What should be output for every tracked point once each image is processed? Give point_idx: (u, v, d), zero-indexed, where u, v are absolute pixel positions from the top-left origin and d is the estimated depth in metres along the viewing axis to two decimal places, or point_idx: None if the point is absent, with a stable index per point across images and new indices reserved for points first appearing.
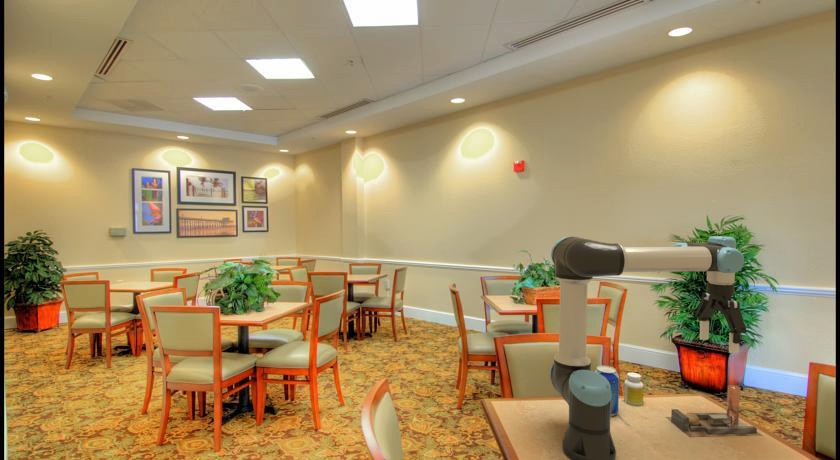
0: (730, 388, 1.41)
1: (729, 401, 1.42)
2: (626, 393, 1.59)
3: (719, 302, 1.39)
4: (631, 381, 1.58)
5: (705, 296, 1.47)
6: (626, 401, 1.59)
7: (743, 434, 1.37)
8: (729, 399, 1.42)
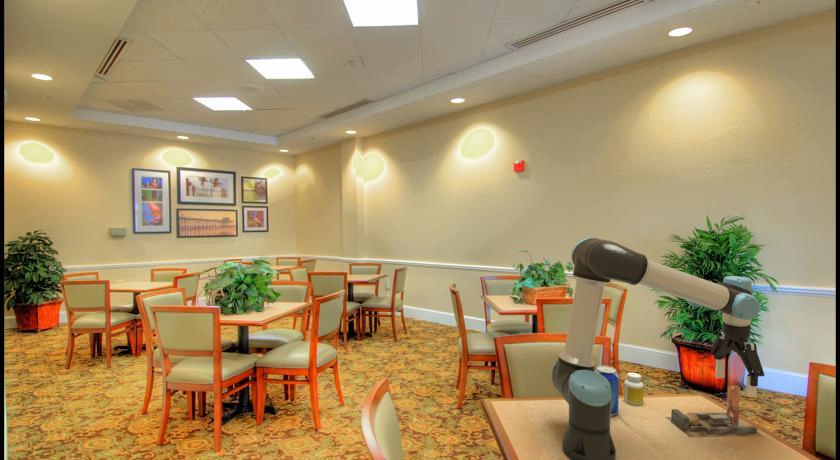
0: (730, 388, 1.41)
1: (729, 401, 1.42)
2: (626, 393, 1.59)
3: (735, 343, 1.39)
4: (631, 381, 1.58)
5: (720, 335, 1.46)
6: (626, 401, 1.59)
7: (743, 434, 1.37)
8: (729, 399, 1.42)
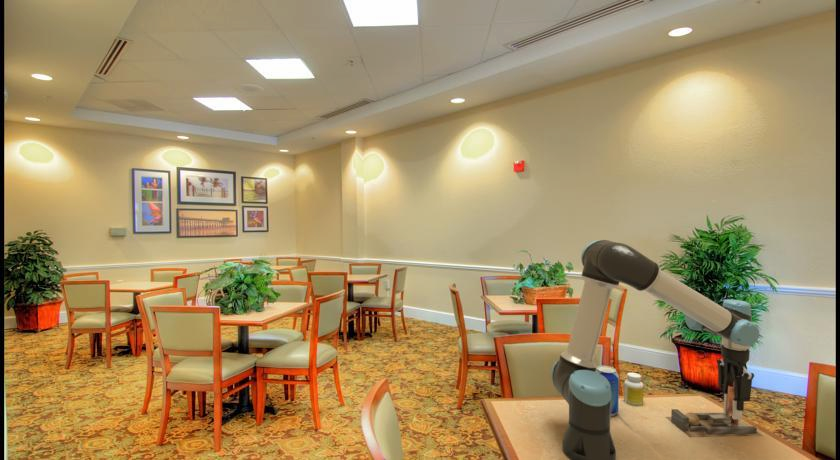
0: (730, 388, 1.41)
1: (729, 401, 1.42)
2: (626, 393, 1.59)
3: (734, 368, 1.39)
4: (631, 381, 1.58)
5: (720, 362, 1.47)
6: (626, 401, 1.59)
7: (743, 434, 1.37)
8: (729, 399, 1.42)
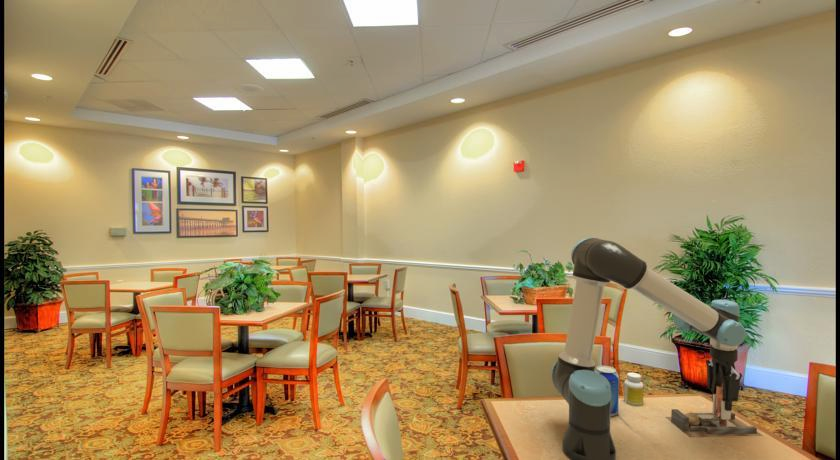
0: (718, 388, 1.41)
1: (717, 401, 1.42)
2: (626, 393, 1.59)
3: (722, 368, 1.39)
4: (631, 381, 1.58)
5: (709, 362, 1.46)
6: (626, 401, 1.59)
7: (743, 434, 1.37)
8: (717, 399, 1.41)
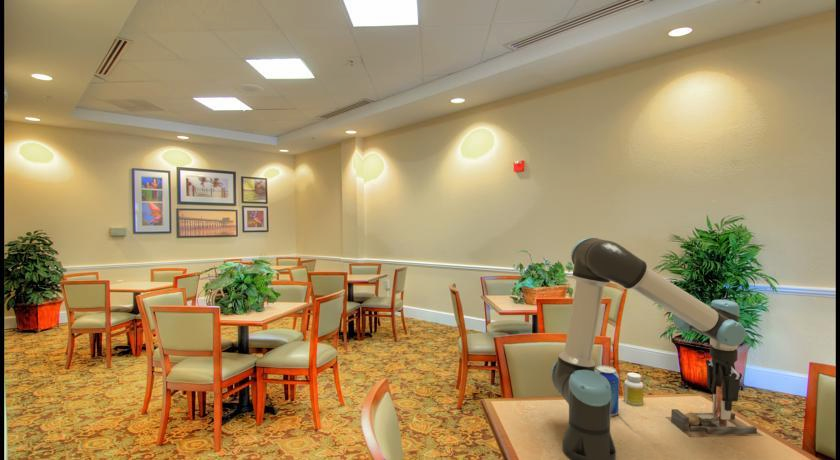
0: (718, 388, 1.41)
1: (717, 401, 1.42)
2: (626, 393, 1.59)
3: (722, 368, 1.39)
4: (631, 381, 1.58)
5: (709, 362, 1.46)
6: (626, 401, 1.59)
7: (743, 434, 1.37)
8: (717, 399, 1.41)
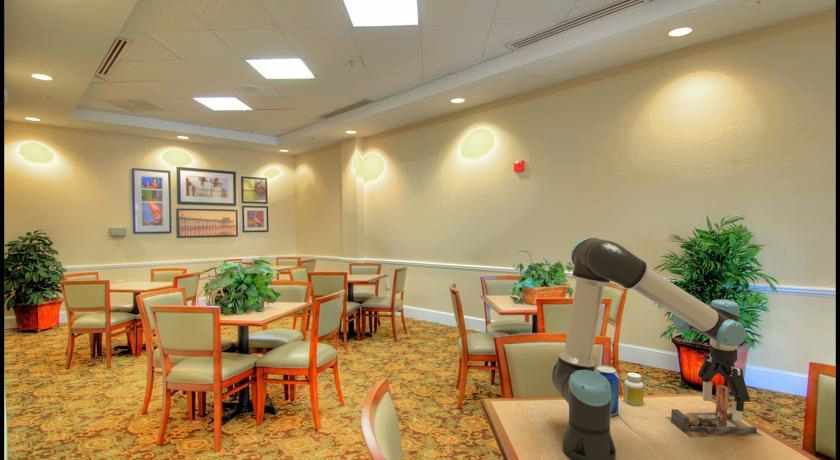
0: (718, 388, 1.41)
1: (717, 401, 1.42)
2: (626, 393, 1.59)
3: (722, 367, 1.39)
4: (631, 381, 1.58)
5: (708, 358, 1.47)
6: (626, 401, 1.59)
7: (743, 434, 1.37)
8: (717, 399, 1.41)
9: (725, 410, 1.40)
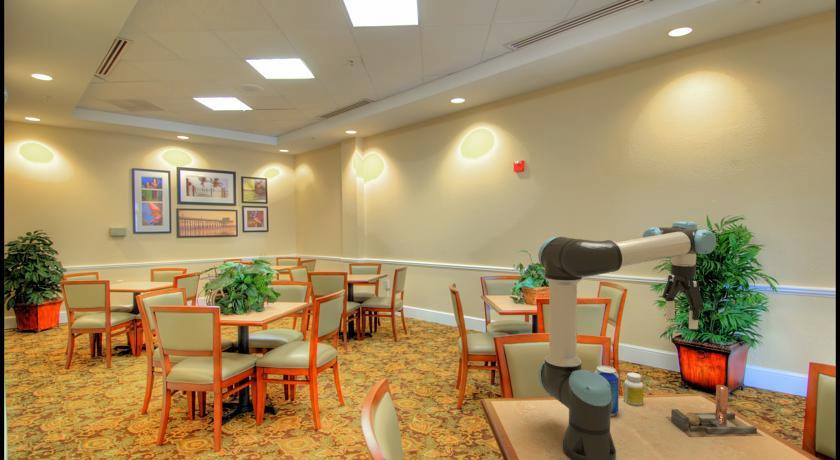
0: (718, 388, 1.41)
1: (717, 401, 1.42)
2: (626, 393, 1.59)
3: (681, 282, 1.50)
4: (631, 381, 1.58)
5: (671, 278, 1.57)
6: (626, 401, 1.59)
7: (743, 434, 1.37)
8: (717, 399, 1.41)
9: (725, 410, 1.40)
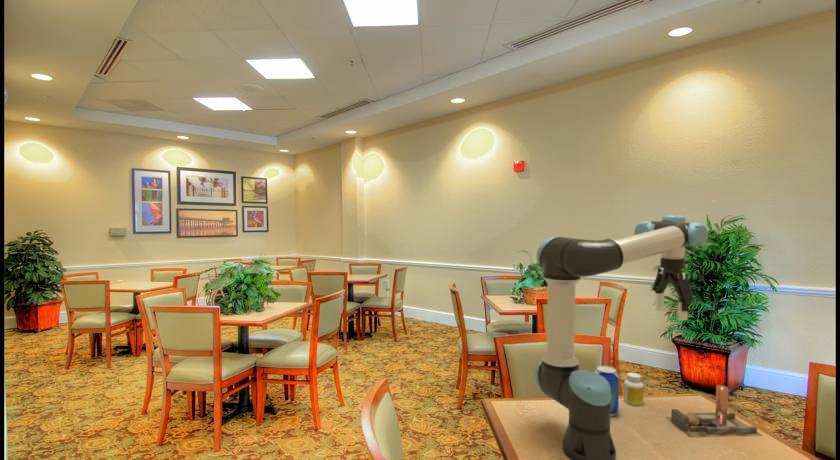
0: (718, 388, 1.41)
1: (717, 401, 1.42)
2: (626, 393, 1.59)
3: (671, 275, 1.53)
4: (631, 381, 1.58)
5: (660, 270, 1.61)
6: (626, 401, 1.59)
7: (743, 434, 1.37)
8: (717, 399, 1.41)
9: (725, 410, 1.40)
